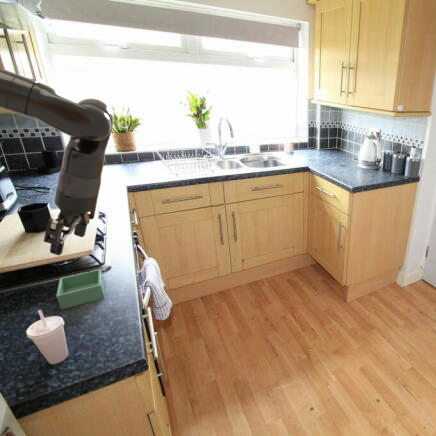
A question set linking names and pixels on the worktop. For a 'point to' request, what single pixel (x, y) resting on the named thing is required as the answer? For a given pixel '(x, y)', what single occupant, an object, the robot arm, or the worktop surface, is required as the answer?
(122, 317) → the worktop surface
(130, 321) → the worktop surface
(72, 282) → the green open box
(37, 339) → the smoothie
